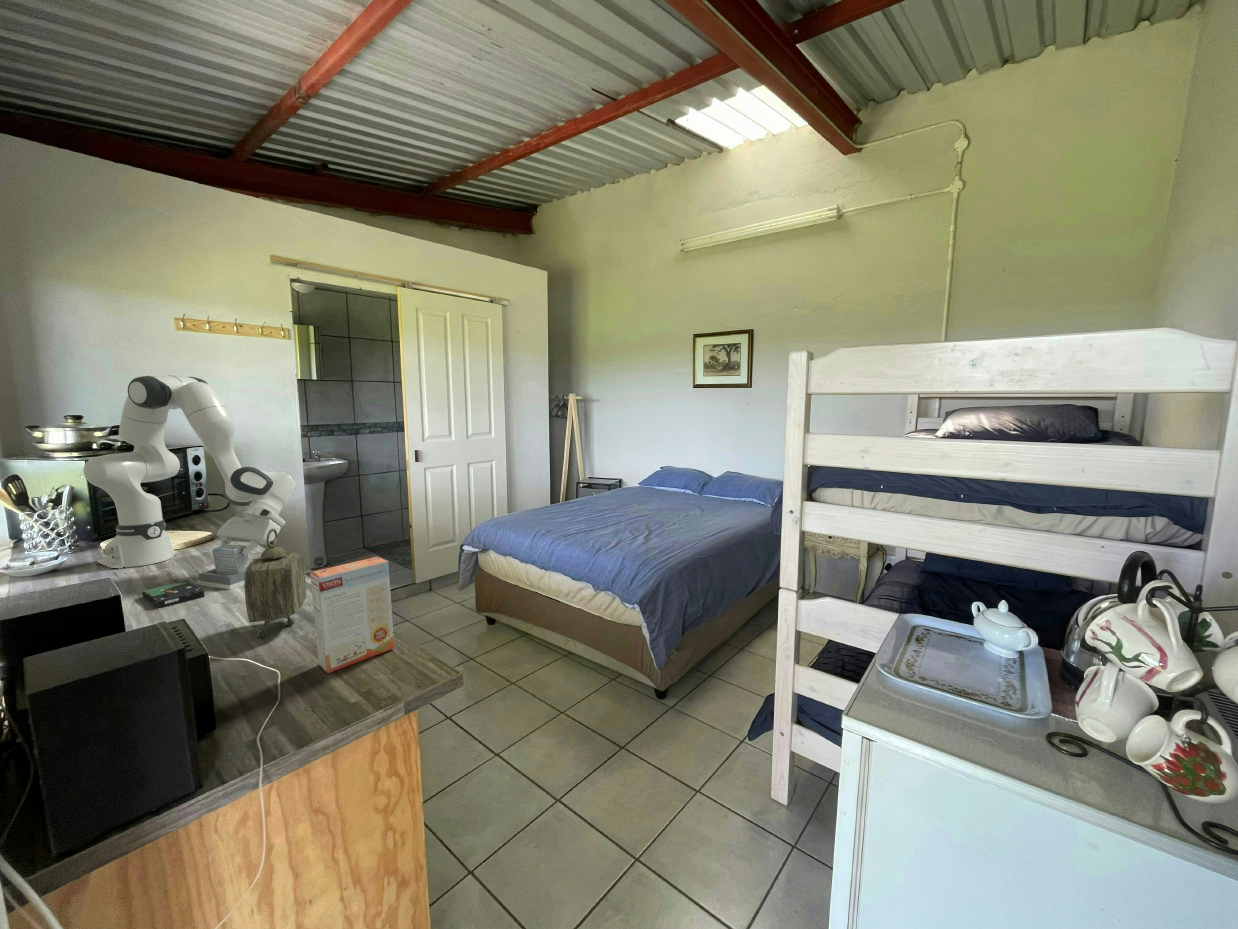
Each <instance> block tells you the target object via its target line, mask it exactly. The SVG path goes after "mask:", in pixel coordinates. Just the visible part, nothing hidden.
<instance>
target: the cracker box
mask: <svg viewBox="0 0 1238 929" xmlns="http://www.w3.org/2000/svg"><path fill="white" fill-rule="evenodd" d="M389 571H390V570H389V560H387V559H384V558H382V557H380V556H373V557H370V558H366V559H361V560H357V561H353V562H348V563H345V564H341V565H340V564H339V565H336V566H331V567H327V568H322V569H318V570H315V571H310V584H311V585H310V586H311V596H312V605H313V616H314V627H315V635H316V636H315V638H316V647H317V650H316V651H317V656H318V657H317V660H318V665H319V666H320V667H321V669H323V671H325V672H326V673H327V674H330V673H333V672H336V671H338V670H341V669H344V668H346V667H349V666H351V665H354V664H357V663H359V662H362V661H365V660H367V659H370V658H373V657H376V656H378V655H381V654H383V653H386V652H388V651H391V650H394V649H395V641H394V640H395V639H394V637H395V636H394V625H393V610H392V609H393V608H392V598H391V596H392V595H391V584H390V583H391V582H390V572H389ZM392 632H393V633H392Z"/></svg>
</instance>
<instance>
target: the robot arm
mask: <svg viewBox="0 0 1238 929" xmlns="http://www.w3.org/2000/svg"><path fill="white" fill-rule="evenodd" d="M125 399H126V400H125V401H124V405H123V408H122V413H121V418H120V423H119V428H118V435H119V437H120V439H121V440H123V441H124V442H126V443H128V444H130V445H133V447H134V448H133V451H131V452H121V453H120V452H119V453H108V454H104V455H99V456H96V457H92V458H89V459H88V460H87V461H86V462H85V464H84V467H83V470H82V471H83V476H84V478H85V479H86V480H87V481H88V483H89V484H91V485H93V486H94V487H98V488H99V489H101V490H103V491H104V492H106V494H108V496H110V498H111V499H112V501H113V502H114V505H115V508H116V513H117V514H116V515H117V520H118V524H117V525H115V526H114V527H115V528H114V529H115V530H116V532H115V534H116V535H115V536H114V538H112V539H111V540H110V541H109V542H108V543H106V545H105V546H104V548H103V550H102V553H103V555H104V557H103V558H99V559H97V560H96V561H98V562H100V563H102V564H104V565H107V566H109V567H111V568H118V569H124V568H123V567H125V568H134V567H141V566H146V565H147V566H148V565H153V564H156V563H157V564H158V563H161V562H164V561H168V560H170V559H172V558H173V557H174V556H175V555H177V554H178V552H177V550H174V547H173V542H172V540H171V536H170V533H169V532H167V531H166V522H165V519H164V518H163V511H162V503H161V502H162V501H161V500H160V498H159V497H158V496H156V495H154V494H152V493H147V492H145V491H144V490H143V489H142V486H141V484H142V483H152V482H159V481H162V480H166V479H169V478H172V477H175V476H176V475H177V474H178V473H179V471H180V468H181V462H180V460H179V458H178V457H177V455H176V454H174V453H173V452H172V451H170V450H169V449H168V448H167V446H166V444H165V434H166V427H167V422H168V416H169V412H170V410H177V409H180V410H182V413H183V414H184V416H185V418H186V420H187V421H188V423H189V426H191V429H192V430H193V432H194V433H195V434H196V436H197V437H198V439H199V441H201V443H202V444H203V446H204V447H205V449H206V450H207V452H208V453H209V455H210V457H211V460H212V462H214V465H215V467H216V469H217V471H218V473H219V475H220V477H221V479H222V482H223V496H224V499H225V500H226V501H227V502H228V503H229V504H231V505H234V506H236V507H246V508H245V510H244V511H243V512H242V513H239V514H237V515H235V516H233V517H230V518H229V519H227V520H226V521H225V522H224V523H223V524H222V526H221V527H220V528H219V529H218V530H217V532H216V537H218V538H219V539H221V541H220V545H219V547H220V546H223V545H231V543H232V542H238V543H248V544H247V545H245V546H246V547H245V548H242V550H241V551H240V553H241V554H242V555H249V554H250V553H251V551H253V550H255V549H256V548H257V547H258V546H259V545H267V534H268V532H269V530H271V529H275V530H276V531H277V535H278V534H279V532H280V531H281V529H282V528H283V527H284V525H285V524H286V521H285V520H284V519H283V518H282V517H281V516H280V514H281V510H282V508H283V507H285V506H286V505H287V504H288V503H289V501H290V500H291V498H292V496H293V495H294V493H295V492H296V488H297V482H296V481H295V478H293V477H292V476H291V475H290V474H288V473H286V472H283V471H268V470H266V471H265V470H261V469H259V468H255V467H254V466H253V467H252V466H243V467H242V465H241V463H240V461H239V459H238V457H237V456H236V453H235V449H234V435H235V423H234V420H233V418H232V414H231V412H230V411H229V409H228V407H227V406H226V404H225V402H224V401H223V399H222V398H221V396H220V395H219V394H218V393H217V391H216V390H215V389H214V388H213V387H212V386H211V385H210V384H209V383H208V382H207V381H205V380H204V379H202V378H199V377H194V376H184V375H183V376H182V375H181V376H180V375H171V374H170V375H154V376H152V375H143V376H142V375H141V376H138V377H134V378H133V379H132V380H130V382H129V384H128V387H127V397H126V398H125ZM281 527H282V528H281ZM272 540H275V533H274V531H273V532H272V533H271V534H270V537H269V544H270V541H272ZM267 546H268V545H267ZM111 568H110V569H111Z"/></svg>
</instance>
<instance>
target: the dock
mask: <svg viewBox="0 0 1238 929" xmlns="http://www.w3.org/2000/svg"><path fill="white" fill-rule="evenodd" d="M251 562H252V561H249V564H250V563H251ZM244 575H245V571H244V572H241V573H238V574H235V575H222V574H217V573H216V567H215V568H212V569H210V570H205V571H202V572H200V573H198V576H199V580H198V581H196V582H195V584H196V586H203V587H208V588H209V587H210V588H217V589H225V590H232V589H236V588H238V587H241V586H244Z"/></svg>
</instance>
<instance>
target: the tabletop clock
mask: <svg viewBox="0 0 1238 929" xmlns="http://www.w3.org/2000/svg"><path fill="white" fill-rule="evenodd" d="M273 531H274V533H275V538H274V540H272V541H270V543H269V537H270V534H271V533H272V532H273ZM277 542H278V534H277V531H276V530H275V529H271V530H269V532H268V534H267V547H268V548H266V549H264V550H263V551H262V553H261V555H259V556H257V557H255V558H253V559H252V560H251V561H250V562H251V563H250V564H249V565H248V566H247V568H246V570H245V575H244V585H243V586H244V599H245V600H244V601H245V607H246V614H247V620H248V622H249V623H257V622H264V623H263V626H262V628H261V630H260V631H257V633H256V637H257V638H260V639H262V638H263V637H265V634H266V632H265V631H266V629H267V627H268V625H269V624H270V623H271V621H273V620H280V619H287V621H286V625H287V626H292V625H294V623H295V619H292V618H291V617H292V616H294V615H295V614H297V613H298V612H299V611H300V609H301V608H302V606H303V605H304V603H305V601H306V598H307V581H306V568H305V560H304V556H303V555H301V554H298V553H296V552H292V553H291V552H290V553H287V552H286V551H285V550H284V548H283V547H281V546H276V544H277Z"/></svg>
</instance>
